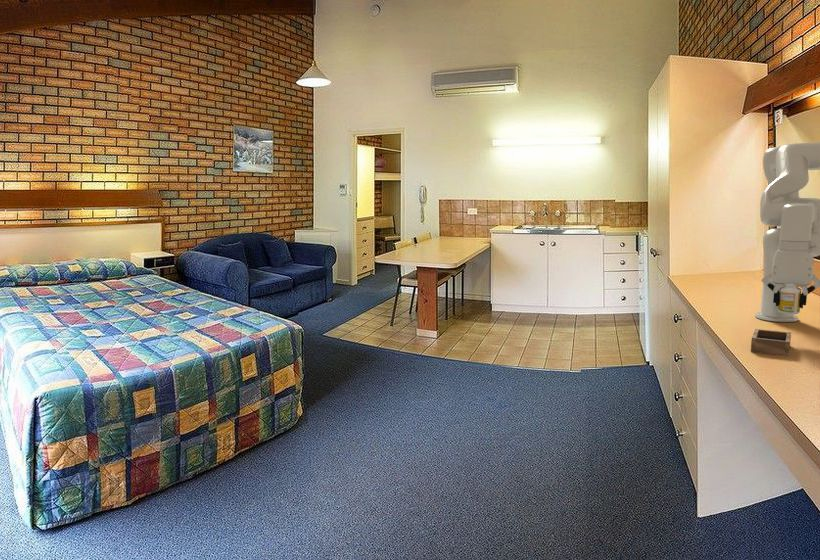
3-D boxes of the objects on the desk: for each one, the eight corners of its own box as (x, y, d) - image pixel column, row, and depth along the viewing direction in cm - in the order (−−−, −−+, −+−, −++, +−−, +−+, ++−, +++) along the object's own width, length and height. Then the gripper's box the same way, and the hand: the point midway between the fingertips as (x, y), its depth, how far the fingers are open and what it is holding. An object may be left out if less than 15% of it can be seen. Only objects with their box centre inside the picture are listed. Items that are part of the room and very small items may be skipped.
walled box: (754, 341, 168) (755, 328, 168) (790, 345, 163) (791, 332, 162) (750, 351, 159) (751, 337, 158) (788, 356, 153) (789, 342, 153)
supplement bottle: (791, 309, 170) (793, 278, 168) (803, 314, 164) (806, 281, 163) (773, 310, 170) (776, 279, 168) (786, 315, 164) (788, 282, 162)
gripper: (830, 245, 161) (824, 306, 165) (760, 243, 171) (756, 300, 175) (831, 249, 155) (824, 312, 159) (759, 246, 165) (754, 306, 169)
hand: (789, 305), depth 167 cm, fingers closed on supplement bottle, 5 cm apart
